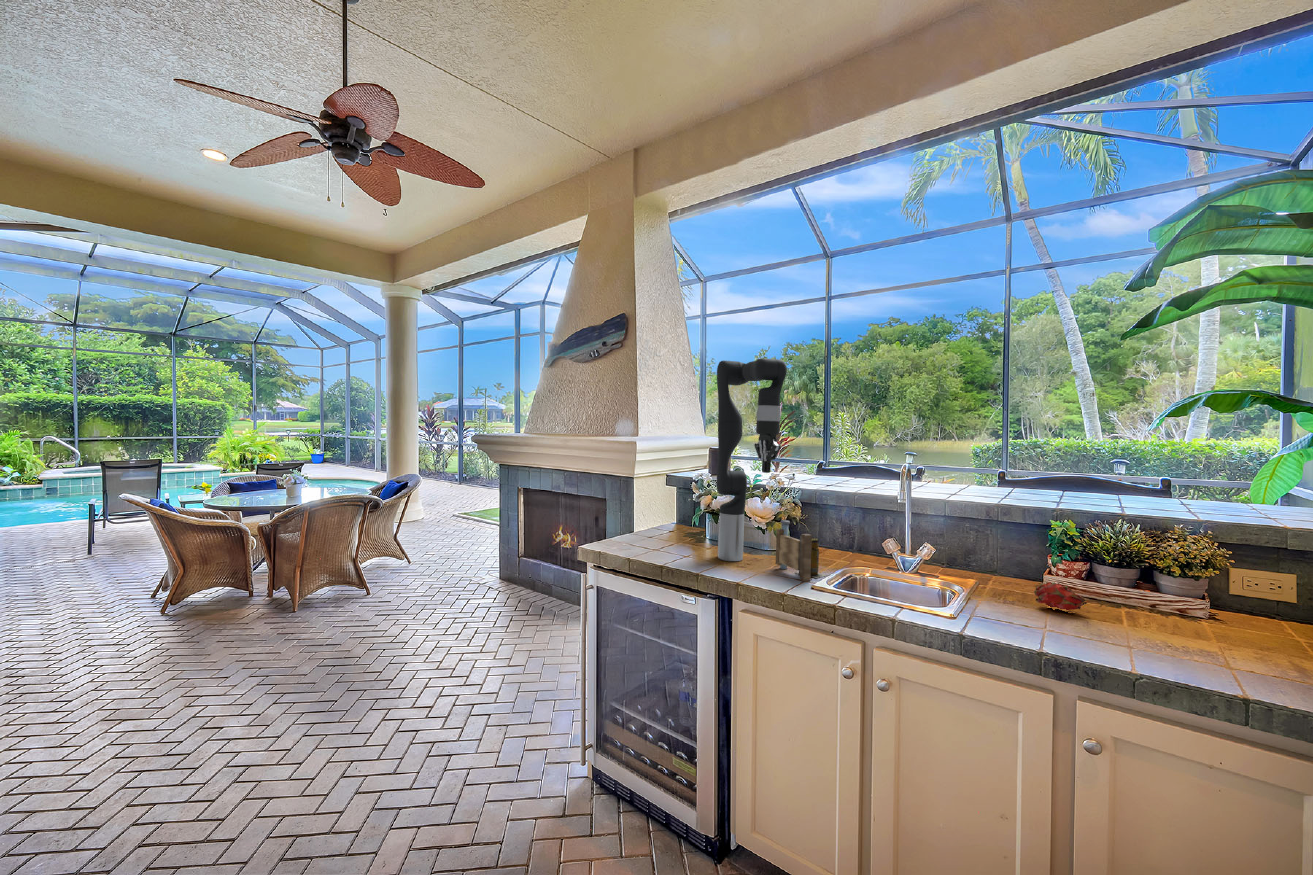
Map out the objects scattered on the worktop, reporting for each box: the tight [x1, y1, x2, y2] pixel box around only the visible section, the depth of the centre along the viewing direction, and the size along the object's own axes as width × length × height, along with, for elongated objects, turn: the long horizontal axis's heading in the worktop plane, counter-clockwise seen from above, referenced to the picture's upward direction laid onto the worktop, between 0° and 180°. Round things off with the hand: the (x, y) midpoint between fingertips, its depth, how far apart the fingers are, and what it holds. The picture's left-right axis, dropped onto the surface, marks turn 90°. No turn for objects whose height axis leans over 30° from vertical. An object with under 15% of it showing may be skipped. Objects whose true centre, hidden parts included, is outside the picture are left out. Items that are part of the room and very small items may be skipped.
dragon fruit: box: [1033, 581, 1088, 611], centre depth 148 cm, size 8×8×12 cm
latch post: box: [779, 519, 791, 570], centre depth 186 cm, size 3×3×17 cm
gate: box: [775, 528, 801, 577], centre depth 179 cm, size 14×2×13 cm, turn 20°
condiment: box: [794, 537, 828, 579], centre depth 179 cm, size 7×8×12 cm
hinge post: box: [799, 533, 813, 583], centre depth 171 cm, size 2×2×15 cm
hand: (766, 472), depth 172 cm, fingers closed
